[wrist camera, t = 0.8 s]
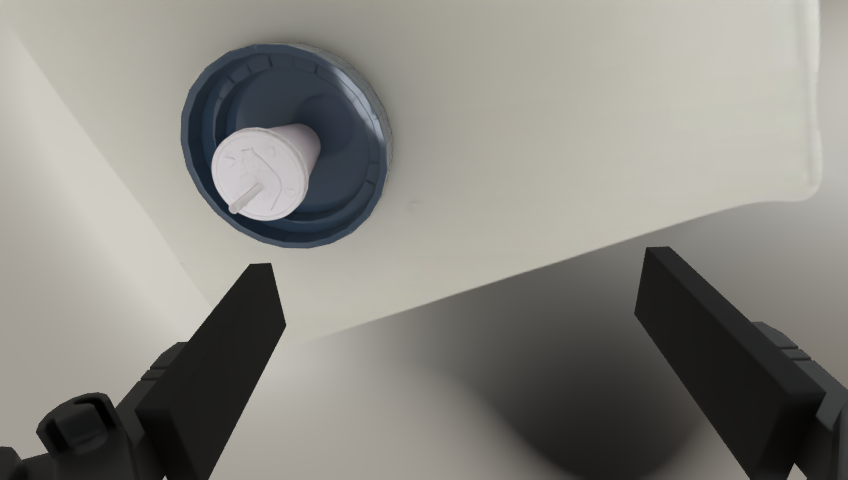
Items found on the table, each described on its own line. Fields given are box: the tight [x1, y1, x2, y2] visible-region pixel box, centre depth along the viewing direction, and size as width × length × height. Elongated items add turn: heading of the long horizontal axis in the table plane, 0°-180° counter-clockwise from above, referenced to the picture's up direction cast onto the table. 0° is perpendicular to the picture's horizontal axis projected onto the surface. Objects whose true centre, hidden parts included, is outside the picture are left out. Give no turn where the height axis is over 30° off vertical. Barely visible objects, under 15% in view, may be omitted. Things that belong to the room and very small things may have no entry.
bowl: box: [181, 43, 392, 248], centre depth 36 cm, size 16×16×4 cm
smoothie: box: [212, 123, 321, 221], centre depth 32 cm, size 6×6×14 cm
